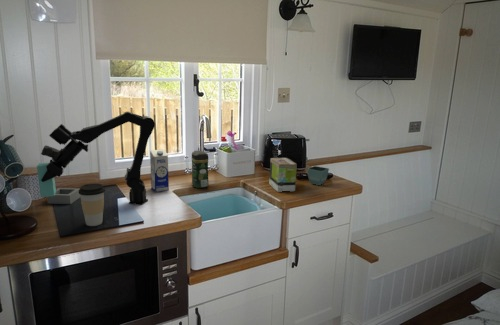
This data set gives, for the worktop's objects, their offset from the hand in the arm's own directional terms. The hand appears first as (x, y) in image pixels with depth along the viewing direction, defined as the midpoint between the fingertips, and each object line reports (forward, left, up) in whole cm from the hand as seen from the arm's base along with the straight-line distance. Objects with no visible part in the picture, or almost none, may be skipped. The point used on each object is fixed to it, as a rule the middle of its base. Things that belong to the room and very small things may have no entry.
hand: (42, 179), depth 154 cm
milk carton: (-33, -40, -14) cm, 53 cm away
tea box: (-92, -62, -14) cm, 111 cm away
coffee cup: (-27, +7, -14) cm, 31 cm away
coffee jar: (-50, -52, -14) cm, 73 cm away
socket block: (+1, -13, -13) cm, 19 cm away
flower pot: (-110, -74, -14) cm, 133 cm away
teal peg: (-1, -1, -7) cm, 7 cm away
